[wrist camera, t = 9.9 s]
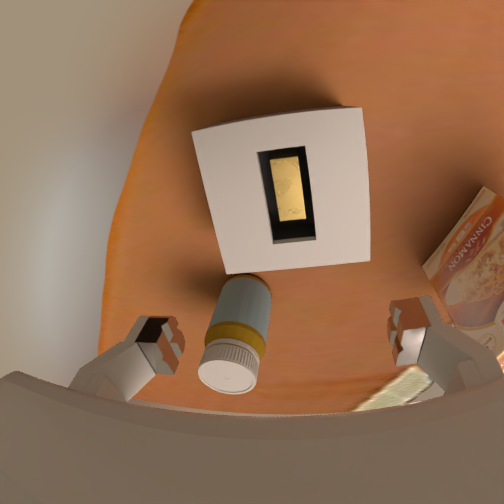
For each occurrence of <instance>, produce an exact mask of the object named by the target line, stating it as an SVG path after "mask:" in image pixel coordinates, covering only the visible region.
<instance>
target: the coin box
mask: <svg viewBox="0 0 504 504" xmlns="http://www.w3.org/2000/svg"><path fill="white" fill-rule="evenodd" d="M191 133H192V137H193V142H194V146H195V150H196V155H197V159H198V163H199V167H200V171H201V176H202V180H203V184H204V188H205V192H206V196H207V200H208V204H209V208H210V212H211V216H212V220H213V224H214V228H215V232H216V236H217V240H218V243H219V247H220V251H221V255H222V259H223V262H224V266H225V270H226V274H236V273H248V272H260V271H271V270H282V269H293V268H304V267H314V266H324V265H334V264H344V263H354V262H364V261H370V198H369V178H368V163H367V151H366V140H365V131H364V122H363V114H362V107H351V106H333V107H321V108H311V109H302V110H293V111H286V112H278V113H272V114H265V115H259V116H253V117H247V118H242V119H236V120H231V121H226V122H221V123H217V124H214V125H210V126H207V127H204V128H201V129H198V130H195V131H192V132H191ZM289 147H297V152H298V158H299V165H300V172H301V179H302V186H303V194H304V203H305V213H306V219H296V220H287V221H280V218H279V212H278V206H277V200H276V194H275V188H274V182H273V176H272V170H271V164H270V158H271V156H272V153H273V150H274V149H282V148H289Z"/></svg>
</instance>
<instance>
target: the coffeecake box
mask: <svg viewBox="0 0 504 504" xmlns="http://www.w3.org/2000/svg"><path fill="white" fill-rule="evenodd" d="M422 268H423V270H424V272H425V274H426V275H427V277H428V279H429V281H430V282H431V284H432V286H433V288H434V289H435V291H436V293H437V295H438V297H439V298H440V300H441V302H442V304H443V306H444V308H445V309H446V311H447V313H448V315H449V317H450V319H451V321H452V323H453V325H454V327H455V328H457V329H458V330H460V331H461V332H463V333H465V334H466V335H468V336H469V337H471V338H472V339H474V340H476V341H477V342H479V343H480V344H482V345H483V346H485V347H486V348H488V349H490V350H491V351H493V352H494V354H495V356H496V358H497V360H498V362H499V364H500V366H501V369H502V371H503V373H504V199H503V198H502V197H500V196H499V195H497V194H496V193H494V192H492V191H491V190H489V189H488V188H486V187H484V186H483V187H482V188H481V190H480V191H479V193H478V194H477V196H476V197H475V199H474V200H473V202H472V203H471V204H470V206H469V207H468V209H467V210H466V211H465V213H464V214H463V216H462V217H461V218H460V220H459V221H458V222H457V224H456V225H455V226H454V228H453V229H452V230H451V232H450V233H449V234H448V235H447V237H446V238H445V239H444V240H443V242H442V243H441V244H440V245H439V247H438V248H437V249H436V250H435V252H434V253H433V254H432V255H431V256H430V258H429V259H428V260H427V261H426V262H425V263H424V265H423V266H422Z"/></svg>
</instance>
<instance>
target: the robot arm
mask: <svg viewBox="0 0 504 504" xmlns="http://www.w3.org/2000/svg"><path fill="white" fill-rule="evenodd" d="M389 310H390V313H391V316H390V317H389V318H388V324H387V334H388V339H389V343H390V344H391V345H392V346H393V350H392V354H393V358H394V362H395V365H396V366H401V365H408V364H414V363H417V365H418V366H419V367H421V368H422V369H423V370H424V371H425V372H426V373H427V374H428V375H429V376H430V377H431V378H432V379H433V380H434V381H435V382H436V383H437V384H438V385H439V386H440V387H441V388H442V389H443V390H444V391H445V393H444V395H443V396H441V397H437V398H433V399H428V400H424V401H419V402H414V403H409V404H404V405H399V406H393V407H387V408H381V409H374V410H367V411H359V412H350V413H340V414H329V415H316V416H295V417H294V416H293V417H252V416H227V415H214V414H202V413H192V412H183V411H175V410H168V409H160V408H154V407H148V406H142V405H137V404H132V403H127V401H128V400H129V399H130V398H132V397H133V396H134V395H135V394H136V393H137V392H138V391H139V390H140V389H141V388H142V387H143V386H144V385H146V384H147V383H148V382H149V381H150V380H151V379H152V378H153V377H154V376H155V375H156V374H169V375H174V374H175V371H176V369H177V366H178V364H179V361H178V359H177V358H178V357H179V356H181V355H182V354H183V351H184V347H185V340H184V336H183V333H182V332H181V331H180V330H179V329H178V328H177V325H178V322H177V320H176V318H175V317H173V316H140V317H139V318H138V319H137V321H136V322H135V324H134V326H133V327H132V329H131V330H130V332H129V334H128V335H127V337H126V339H125V340H124V342H119V343H118V344H116V345H115V346H113V347H112V348H110V349H109V350H107V351H106V352H104V353H103V354H101V355H100V356H98V357H97V358H95V359H94V360H92V361H91V362H89V363H88V364H86V365H84V366H83V367H82V368H80V369H79V371H78V373H77V374H76V376H75V377H74V379H73V381H72V382H71V384H70V386H69V387H68V388H66V387H63V386H60V385H56V384H53V383H50V382H47V381H44V380H41V379H38V378H36V377H33V376H30V375H28V374H25V373H23V372H20V371H14V372H12V373H9V374H7V375H6V376H4V377H2V378H0V504H504V373H503V371H502V369H501V366H500V364H499V362H498V360H497V358H496V356H495V354H494V352H493V351H491V350H490V349H488V348H486V347H485V346H483V345H482V344H480V343H479V342H477V341H476V340H474V339H472V338H471V337H469V336H468V335H466V334H465V333H463V332H461V331H460V330H458V329H457V328H455V327H453V326H452V325H450V324H449V323H446V324H445V323H444V321H443V319H442V317H441V315H440V314H439V312H438V310H437V308H436V306H435V304H434V302H433V300H432V298H431V296H429V295H425V296H419V297H415V298H408V299H401V300H394V301H391V303H390V308H389Z"/></svg>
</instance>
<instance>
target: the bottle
mask: <svg viewBox="0 0 504 504" xmlns="http://www.w3.org/2000/svg"><path fill="white" fill-rule="evenodd" d="M271 299H272V294H271V291H270V289H269V287H268V286H267V285H266V283H265V282H263V281H262V280H260V279H259V278H257V277H254V276H251V275H238V276H234V277H232V278H230V279H229V280H228V281H227V282H226V283H225V284H224V286H223V288H222V291H221V294H220V296H219V299H218V302H217V305H216V308H215V310H214V313H213V316H212V319H211V322H210V324H209V327H208V330H207V333H206V337H205V340H204V342H205V350H204V353H203V356H202V359H201V362H200V365H199V368H198V375H199V377H200V379H201V381H202V382H203V383H204V384H205V385H207V386H208V387H210V388H211V389H213V390H216V391H218V392H222V393H226V394H242V393H246V392H248V391H250V390H252V389H253V388H254V386H255V384H256V381H257V375H258V368H259V361H260V360H261V358H262V356H263V355H264V352H265V347H266V339H267V332H268V324H269V317H270V309H271Z"/></svg>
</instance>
